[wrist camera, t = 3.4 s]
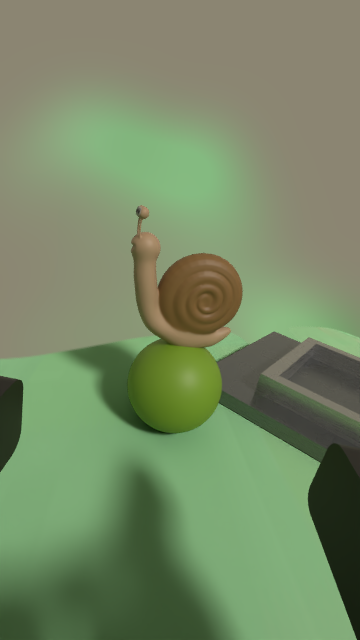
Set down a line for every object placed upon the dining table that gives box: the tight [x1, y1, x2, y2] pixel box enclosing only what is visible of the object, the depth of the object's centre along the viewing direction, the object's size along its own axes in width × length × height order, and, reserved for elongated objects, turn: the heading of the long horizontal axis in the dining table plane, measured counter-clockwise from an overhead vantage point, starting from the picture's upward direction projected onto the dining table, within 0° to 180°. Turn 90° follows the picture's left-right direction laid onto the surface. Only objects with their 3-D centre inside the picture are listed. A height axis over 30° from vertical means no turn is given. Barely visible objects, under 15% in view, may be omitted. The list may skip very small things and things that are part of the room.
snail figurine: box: [127, 205, 242, 433], centre depth 18 cm, size 5×6×12 cm
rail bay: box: [217, 332, 360, 462], centre depth 25 cm, size 20×16×2 cm
